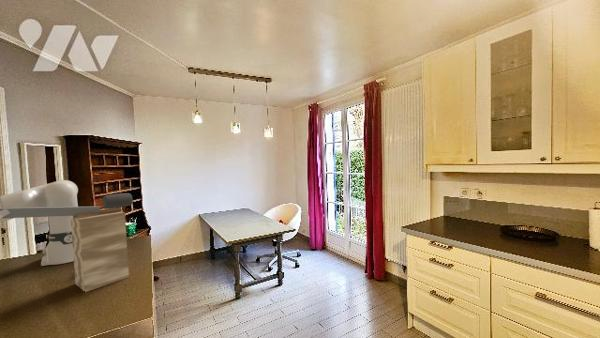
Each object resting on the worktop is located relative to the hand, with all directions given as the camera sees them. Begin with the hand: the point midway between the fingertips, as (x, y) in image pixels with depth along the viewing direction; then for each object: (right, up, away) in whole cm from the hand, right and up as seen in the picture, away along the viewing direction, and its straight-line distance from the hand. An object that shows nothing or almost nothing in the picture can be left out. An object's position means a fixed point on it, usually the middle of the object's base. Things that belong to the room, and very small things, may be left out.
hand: (7, 209), depth 84 cm
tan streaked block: (+15, -31, +20) cm, 40 cm away
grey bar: (+7, -3, +9) cm, 11 cm away
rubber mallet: (-4, -31, +60) cm, 67 cm away
